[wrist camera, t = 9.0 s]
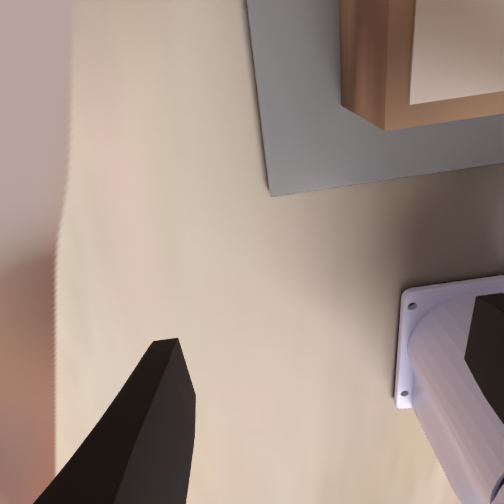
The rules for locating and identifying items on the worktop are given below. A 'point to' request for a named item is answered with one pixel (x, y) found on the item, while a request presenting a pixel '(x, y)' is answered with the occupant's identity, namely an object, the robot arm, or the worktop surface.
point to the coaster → (340, 111)
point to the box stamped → (421, 60)
